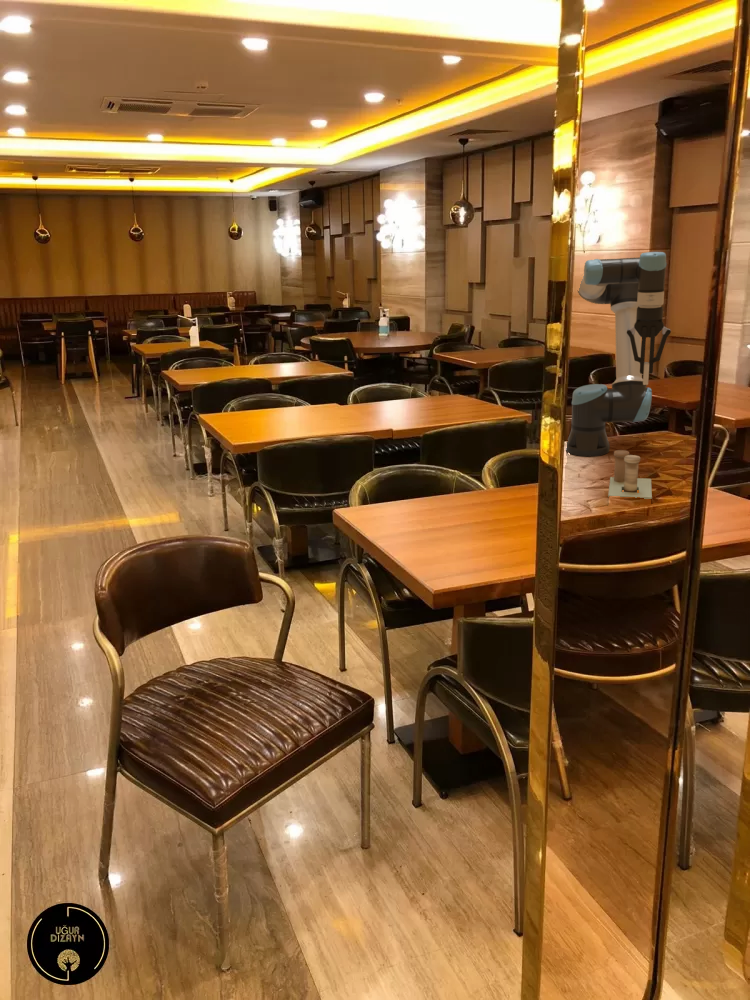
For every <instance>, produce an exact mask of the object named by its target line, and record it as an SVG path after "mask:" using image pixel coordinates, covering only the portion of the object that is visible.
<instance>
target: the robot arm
mask: <svg viewBox="0 0 750 1000" xmlns="http://www.w3.org/2000/svg"><path fill="white" fill-rule="evenodd" d="M667 264H668V263H667V254H666V252H663V251H647V252H642V253H641V254H640V256H639V257H620V258H605V259H604V258H602V259H600V258H595V259H589V260H586V261H585V263H584V267H583V268H584V269H583V274H584V276H583V279H582V281H581V284H580V288H579V291H578V290H577V293H578V295H579V296H580V297H581V298H582V299H583V300H585V301H587V302H589V303H591V304H596V305H610V311H612V312H613V313H614V315H615V317H614V318H615V319H614V320H615V322H614V323H615V324H614V325H615V327H614V329H615V377H616V379H615V380H614V382H612V383H611V388H608V387H607V385H606V384H602V383H600V384H599V383H593V384H585V385H582V386H579V387H578V388H576V389H574V390H573V392H572V400H571V427H570V428H571V430H570V433H569V434H568V435H569V436H568V437H567V440H568V442H567V441H566V443H567V450H566V449H565V451H566V453H568V454H571V455H573V456H579V457H598V456H603V455H606V454H608V453H609V452H610V443H609V439H608V436H607V432H606V423H627V422H628V423H631V422H632V423H635V422H636V423H637V422H644V421H646V420H647V419H648V417H649V414H650V411H651V406H652V399H653V397H652V396H653V393H652V391H653V390H652V388H651V387H647V386H648V385H649V375H650V374H651V375H652V374H653V372H654V364H655V363H656V362H659V361H661V357H662V354H663V350H664V347H665V344H666V341H667V338H668V337H669V336H670V335H671V332H672V330H671V329H670V328H667V327H666V326H665V324H664V321H663V317H664V307H663V305H664V303H665V283H666V282H665V281H666V271H667ZM661 331H662V332H661ZM659 333H661V334H662V336H661V338H660V339H661V340H660V343H659V345H658V349H657V352H656V355H655V340H656V337H657V336H658V335H659ZM647 338H649V339H650V341H649V355H648V356H649V359H648V360H649V361H646V360H645V358H646V343H647V341H646V340H647Z"/></svg>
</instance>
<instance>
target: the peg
mask: <svg viewBox="0 0 750 1000" xmlns="http://www.w3.org/2000/svg"><path fill="white" fill-rule="evenodd" d="M624 461H625V462H626V464H625V481H624V492H635V493H637V479H638V478H639V463H640V462H641V457H640V456H639V455H636V454H634V455H633V454H629V455H628V456H625V457H624Z"/></svg>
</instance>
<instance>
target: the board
mask: <svg viewBox="0 0 750 1000" xmlns="http://www.w3.org/2000/svg"><path fill="white" fill-rule="evenodd" d="M628 455H630V451H629V450H625V449H617V450H613V456H614V470H613V471H614V472H613V476H610V477H609V484H608V485H609V486H608V495H607V497H609V496H620V497H635V498H637V497H640V498H644V499H652V500H653V496H652V495H653V494H652V491H653V490H652V478H646V477H645V478H642V477H641V478H640V477H638V479H637V490H639V493H635V492H622V490H624V481H625V464H626V462H625V461H624V457H625V456H628Z"/></svg>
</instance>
